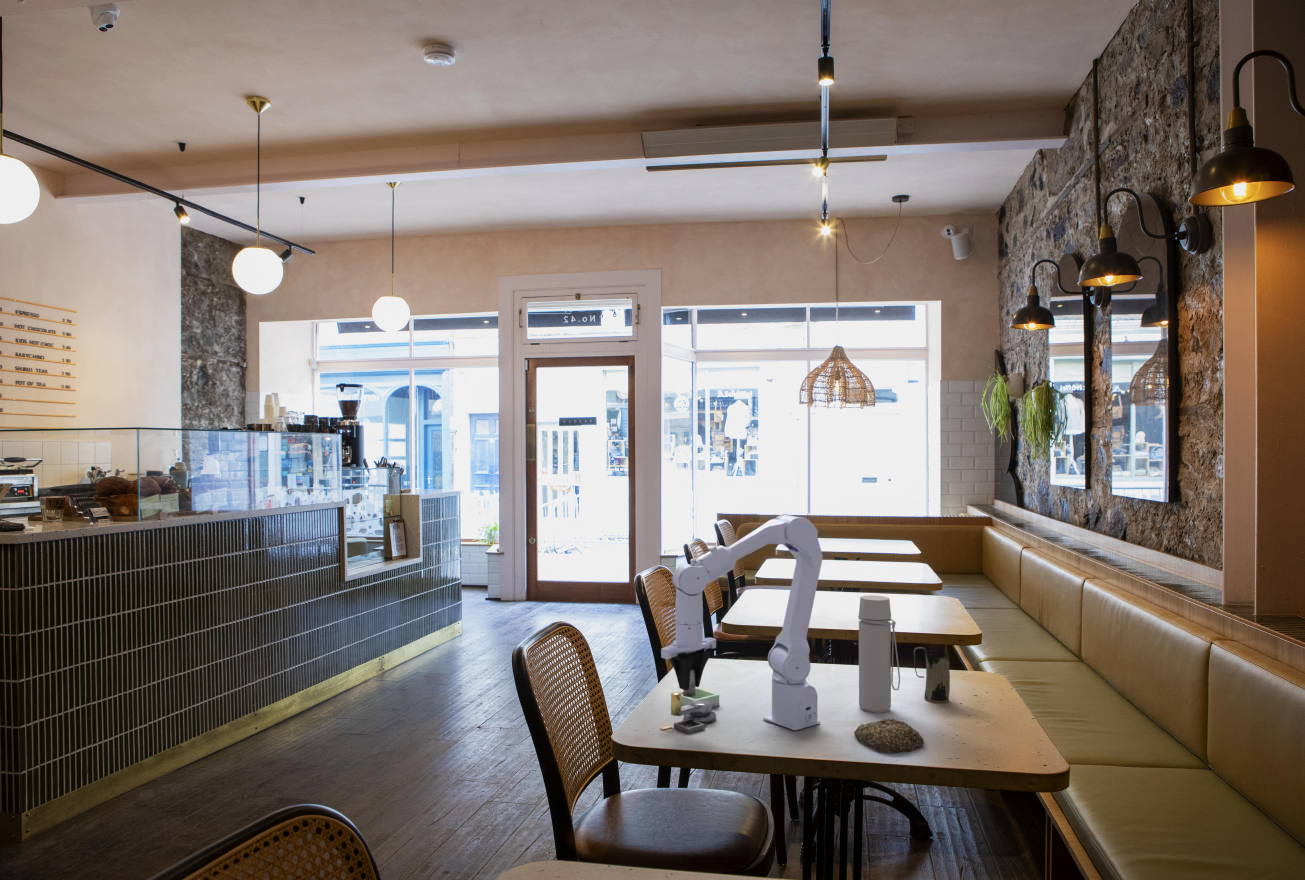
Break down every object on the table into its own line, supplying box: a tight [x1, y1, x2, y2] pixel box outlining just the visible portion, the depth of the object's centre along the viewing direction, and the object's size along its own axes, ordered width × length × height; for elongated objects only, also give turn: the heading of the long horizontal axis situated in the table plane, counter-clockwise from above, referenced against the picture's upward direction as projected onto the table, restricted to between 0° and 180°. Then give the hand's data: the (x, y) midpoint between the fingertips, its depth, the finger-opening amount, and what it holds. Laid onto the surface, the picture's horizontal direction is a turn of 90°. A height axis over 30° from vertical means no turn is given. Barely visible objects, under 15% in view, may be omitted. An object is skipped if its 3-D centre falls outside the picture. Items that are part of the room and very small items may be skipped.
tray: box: [679, 687, 720, 709], centre depth 193 cm, size 7×7×2 cm
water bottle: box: [857, 594, 901, 714], centre depth 190 cm, size 9×8×25 cm
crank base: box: [659, 710, 717, 735], centre depth 180 cm, size 9×14×1 cm, turn 128°
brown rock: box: [854, 718, 925, 754], centre depth 169 cm, size 13×12×5 cm
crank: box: [670, 691, 712, 717], centre depth 181 cm, size 11×5×6 cm, turn 131°
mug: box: [913, 646, 951, 705], centre depth 197 cm, size 8×6×12 cm
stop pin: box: [682, 667, 696, 697], centre depth 177 cm, size 3×3×6 cm
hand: (689, 687), depth 177 cm, fingers closed on stop pin, 3 cm apart
